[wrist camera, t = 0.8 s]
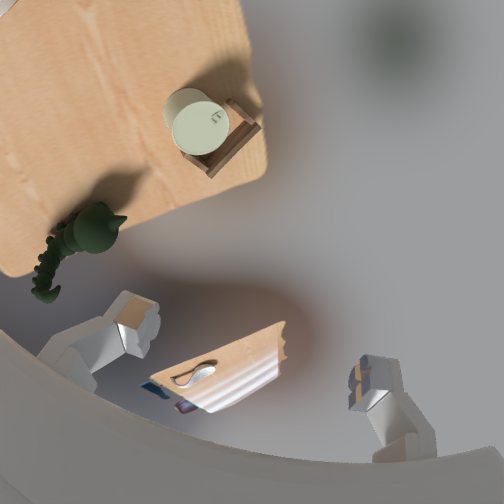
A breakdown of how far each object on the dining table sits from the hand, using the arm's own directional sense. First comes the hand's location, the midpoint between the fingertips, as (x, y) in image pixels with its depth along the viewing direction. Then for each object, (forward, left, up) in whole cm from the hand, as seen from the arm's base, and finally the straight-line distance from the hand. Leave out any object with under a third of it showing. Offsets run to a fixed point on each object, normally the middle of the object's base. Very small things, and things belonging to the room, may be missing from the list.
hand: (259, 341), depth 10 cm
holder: (+6, +16, -47) cm, 50 cm away
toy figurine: (+30, -10, -47) cm, 57 cm away
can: (+2, +8, -47) cm, 48 cm away
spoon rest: (+116, +38, -48) cm, 131 cm away
